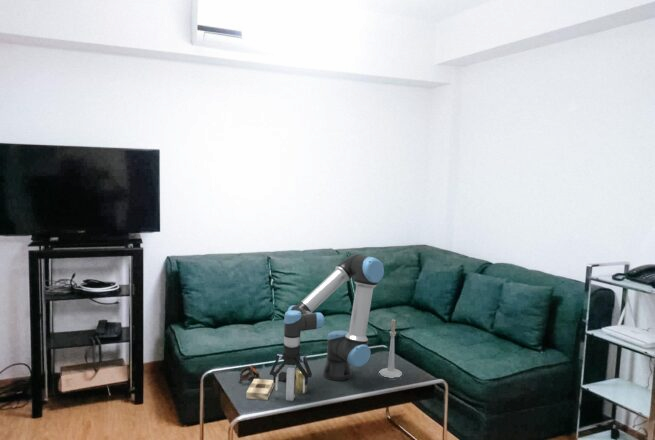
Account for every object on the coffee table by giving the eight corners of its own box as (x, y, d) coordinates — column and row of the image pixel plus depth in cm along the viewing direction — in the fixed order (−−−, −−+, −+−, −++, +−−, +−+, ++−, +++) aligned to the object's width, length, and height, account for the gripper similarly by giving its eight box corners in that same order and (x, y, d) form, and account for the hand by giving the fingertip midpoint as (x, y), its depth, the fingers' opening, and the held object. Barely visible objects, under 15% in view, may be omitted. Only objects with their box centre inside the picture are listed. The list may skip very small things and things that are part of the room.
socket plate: (273, 386, 246) (274, 380, 246) (267, 400, 230) (267, 393, 230) (253, 384, 247) (254, 378, 247) (246, 398, 231) (246, 392, 231)
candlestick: (373, 373, 267) (376, 318, 264) (389, 368, 275) (392, 314, 273) (392, 381, 257) (394, 323, 255) (408, 375, 266) (410, 319, 263)
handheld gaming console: (277, 369, 263) (288, 357, 261) (288, 378, 263) (299, 365, 261) (271, 381, 252) (283, 368, 249) (283, 390, 252) (295, 377, 250)
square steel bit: (294, 397, 234) (295, 368, 233) (293, 400, 230) (294, 371, 229) (287, 397, 234) (287, 367, 233) (285, 400, 231) (286, 370, 230)
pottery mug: (260, 386, 247) (252, 373, 244) (243, 392, 248) (235, 379, 246) (264, 371, 258) (256, 358, 256) (248, 377, 260) (240, 364, 258)
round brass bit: (307, 389, 243) (308, 369, 243) (306, 394, 238) (306, 373, 237) (296, 388, 244) (297, 368, 243) (294, 393, 238) (295, 372, 238)
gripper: (318, 343, 233) (317, 389, 235) (267, 340, 235) (266, 385, 237) (317, 349, 226) (315, 395, 227) (264, 345, 228) (262, 391, 229)
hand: (290, 390), depth 232 cm, fingers open, 12 cm apart
